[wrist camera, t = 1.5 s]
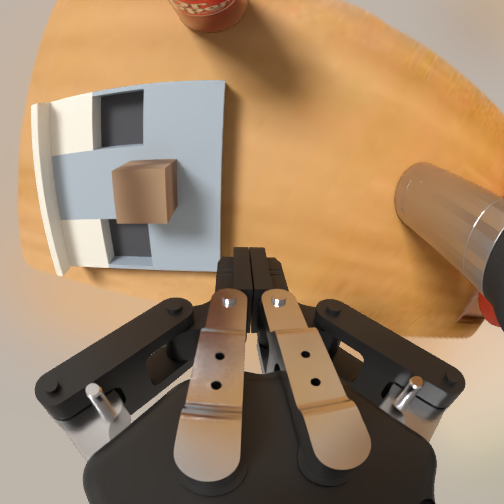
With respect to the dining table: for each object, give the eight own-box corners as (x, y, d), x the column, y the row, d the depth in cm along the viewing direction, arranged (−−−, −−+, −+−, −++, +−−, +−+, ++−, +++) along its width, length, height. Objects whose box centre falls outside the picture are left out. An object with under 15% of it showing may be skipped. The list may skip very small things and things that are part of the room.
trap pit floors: (151, 90, 25) (150, 90, 24) (157, 255, 34) (157, 257, 34) (102, 96, 24) (101, 96, 24) (115, 254, 33) (114, 255, 33)
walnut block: (176, 158, 26) (164, 168, 22) (177, 205, 28) (167, 223, 24) (130, 160, 26) (111, 171, 21) (133, 205, 28) (117, 223, 24)
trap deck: (225, 83, 25) (224, 80, 23) (220, 260, 35) (219, 271, 33) (55, 103, 23) (43, 104, 21) (73, 256, 33) (65, 265, 31)
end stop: (50, 102, 21) (37, 103, 19) (71, 265, 31) (63, 276, 29) (43, 104, 21) (31, 105, 19) (65, 265, 31) (57, 275, 29)
